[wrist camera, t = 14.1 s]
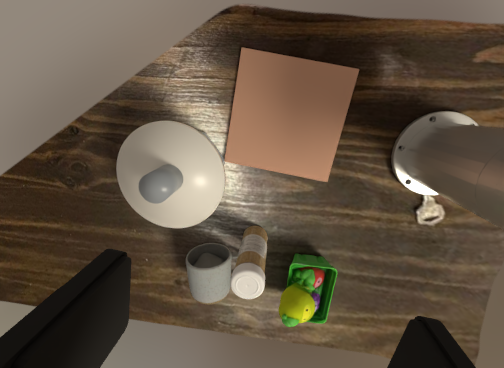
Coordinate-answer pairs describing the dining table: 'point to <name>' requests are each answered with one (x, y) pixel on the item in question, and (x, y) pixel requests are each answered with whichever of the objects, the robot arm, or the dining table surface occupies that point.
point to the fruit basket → (307, 290)
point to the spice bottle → (250, 264)
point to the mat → (288, 113)
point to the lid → (170, 174)
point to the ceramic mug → (209, 272)
